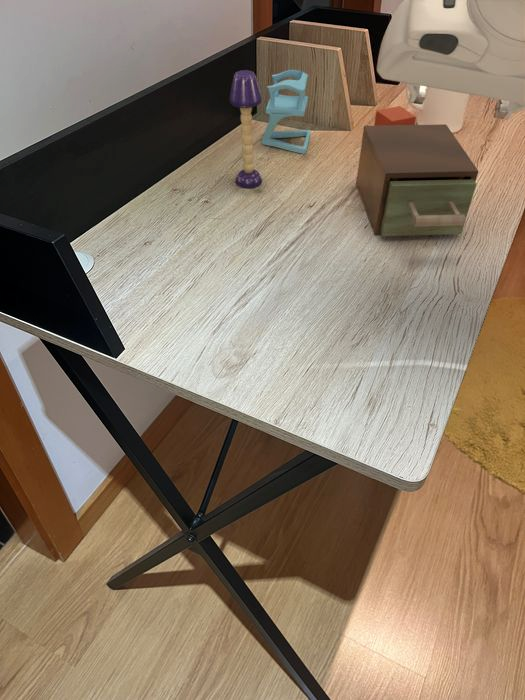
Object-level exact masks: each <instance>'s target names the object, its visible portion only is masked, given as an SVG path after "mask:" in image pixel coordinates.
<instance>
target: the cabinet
mask: <svg viewBox="0 0 525 700" xmlns="http://www.w3.org/2000/svg"><path fill="white" fill-rule="evenodd" d="M478 175H479V169H478V168H477V167H476V165H475V164H474V162H473V161H472V159H471V158H470V156H469V155H468V153H467V152H466V150H465V149H464V148H463V146H462V145H461V143H460V142H459V140H458V139H457V137H456V136H455V134H454V133H452V132H451V131H450V129H449V128H448V126H447V125H446V124H443V125H418V124H415V125H384V126H374V125H363V131H362V138H361V145H360V152H359V160H358V166H357V174H356V180H355V186H356V188H357V191H358V194H359V197H360V200H361V202H362V204H363V208H364V210H365V213H366V216H367V218H368V221H369V223H370V226H371V229H372V232H373V234H374V236H379V235H380V236H382V234H381V226H382V220H383V215H384V210H385V204H386V199H387V194H388V188H389V183H390V178H429V177H465V178H464V180H469V179H474V181H475V182H476V181H477V179H478Z"/></svg>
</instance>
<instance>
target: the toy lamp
mask: <svg viewBox="0 0 525 700" xmlns="http://www.w3.org/2000/svg"><path fill="white" fill-rule="evenodd" d="M261 102H262V94H261V90H260V87H259V84H258V79H257V76H256V74H255V72H254V71H252V70H248V69H244V70H239V71H236V72H235V73H234V75H233V78H232V83H231V88H230V95H229V103H230V105H232V106H233V107H235V108H239V111H240V122H241V125H240V131H241V136H240V137H241V142H242V143H241V144H242V145H241V151H242V161H243V163H242V167H243V168H242V170H240V171H238V173H237V175H236V176H235V184H236V186H238V187H240V188H243V189H253V188H257V187H258V186H260V185H261V184H262V181H263V178H262V176H261V173H260V172H258V170H256V169H255V164H254V158H255V157H254V153H253V152H254V144H253V141H254V139H253V138H254V136H253V124H252V122H253V115H252V111H253V108H254V107H256V106H259V105H260V104H262V103H261Z"/></svg>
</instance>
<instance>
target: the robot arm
mask: <svg viewBox="0 0 525 700" xmlns="http://www.w3.org/2000/svg"><path fill="white" fill-rule="evenodd" d="M376 72H377V74H378V75H379V76H380V78H381V79H383V80H387V81H392V82H397V83H404V84H406V85H405V86H406V89H407V88H408V90H409V95H410V97H409V102H408V104H410V103H415V104H421V105H422V104H423V101H424V100H425V98H426V93H427V92H426V90H427V87H431V88H437V89H443V90H448V91H454V92H459V93H465V94H469V95H471V96H475V97H476V96H477V97H482V98H487V99H488V98H489V99H494V100H498V101H497V102H496V104H495V106H494V113H493V118H494V119H499V120H505V121H508V120H509V119H510V118H511V116H512V115H513V114H517V113H519V112H522V111H525V0H403V1H401V3H400V4H399V6H397V8H396V9H395V12H394V13H393V15H392V17H391V18H390V21H389V23H388V25H387V28H386V30H385V32H384V35H383V38H382V40H381V43H380V47H379V52H378V58H377V64H376Z"/></svg>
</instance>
